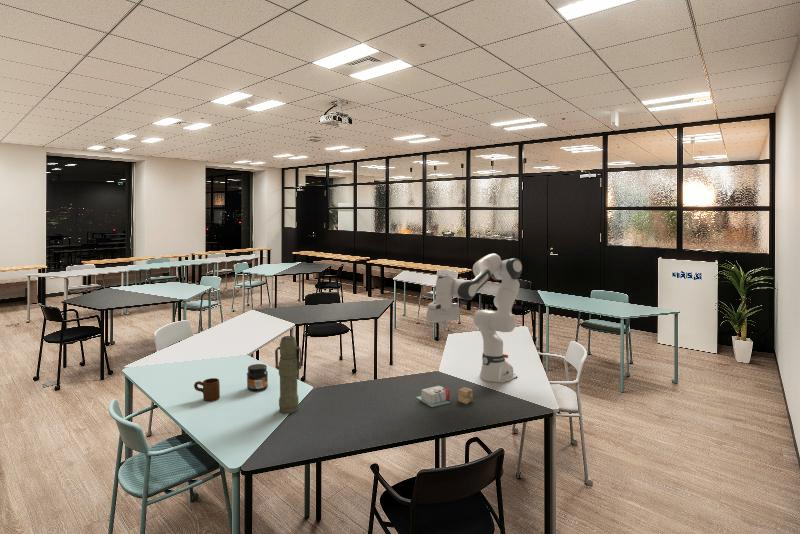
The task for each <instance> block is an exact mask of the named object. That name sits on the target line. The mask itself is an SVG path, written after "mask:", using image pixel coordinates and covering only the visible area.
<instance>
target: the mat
mask: <svg viewBox="0 0 800 534" xmlns="http://www.w3.org/2000/svg"><path fill="white" fill-rule="evenodd" d="M415 398H416V399H417V400H419V401H421V402H422V403H424V404H425V405H428V406H429V407H431V408H434V407H438V406H442V405H446V404H447V405H448V404H450V403H451V402H450V401H448V400H444V401H441V402H437V403H433V404H430V403H428V402H426V401H425V400H423V399H422V398H421V395H420V396H416V397H415Z"/></svg>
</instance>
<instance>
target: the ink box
mask: <svg viewBox="0 0 800 534" xmlns="http://www.w3.org/2000/svg"><path fill="white" fill-rule="evenodd" d="M420 392H421V395H420V396H421V398H422V399H423V400H425V401H426V402H428V403H430V404H433V403H437V402H441V401H444V400H447V401H448V400H450V398H451V395H450V394H451V393H450V389H447V388H445V387H443V386H441V385H437V386H431V387H426V388H423V389H421V390H420Z"/></svg>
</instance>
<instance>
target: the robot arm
mask: <svg viewBox="0 0 800 534" xmlns="http://www.w3.org/2000/svg"><path fill="white" fill-rule="evenodd" d="M472 272H473V275H474V276H475V277H474V278H473V279H472V280H463V279H462V280H461V279H456V278H455V277H453V276H452V275H451V274H449V273H442V274H440V275H437V277H436V281H435V293H436V294H435V295H436V296H435V299H434V301H431V302H429V303H428V304H427V308H428V309H427V311H426V322H427V323H429V324H435V323H438V325H439V330H441V331H442V330H446V329H447V327H448V326H447V325H448V323H449V321H458V320H459V319H460V310H459V308H460V307H459V304H458V303H457V302H454V303H453V297H454V298H458V299H462V300H465V301H470V300H472V299H473V298H474V297H475V296H476V295H477V293H478V291H479V290H480V289H481V288H483V286H485V285H486V283H488V281H489V280H490V278H492V280H495V281H501V283H500V286H499V287H498V291H497V292H496V294H495V296H494V298H493V304H494V306H495V307H496V310H491V309H478V310H476V311H475V313H473V319H472V320H473V323H474V325H475V326H476V327H477V329H478V330H479V332H480V335H481V336H482V341H483V342H482V343H483V344H482V345H483V347H482V349H483V350H482V351H483V352H482V356H481V357H482V358H481V359H482V363H481V370H480V371H479V372H480V374H479V378H480V379H481V380H484V381H486V382H490V383H491V382H493V383H500V384H501V383H502V384H503V383H506V381H507V382H509V381H511V380H514V379H517V378H518V374H516V373H515V372H514V367H513V365H512V364H510V363H509V362H508V361H506V359H508V358H509V355H508V354H505V353H504V341H503V339H502V338H501V337H500V336H499V335H498V333H497V332H500V333H511V332H514V329H516V326H517V320H516V317H515V316H514V315H513V311H512V309H513V306H514V303H515V300H516V298H517V296H518V294H519V291H520V286H521V284H520V282H519V279H520V278H521V274H522V272H523V264H522V261H521V260H520V259H518V258H515V257H513V258H509V259H504V260H502V259H501V256H500V255H499V254H497V253H489V254H487V255H485V256H483V257H481V258H480V259H479V260H476V262H475V263H474V264H473V266H472ZM516 377H517V378H516Z"/></svg>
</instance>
